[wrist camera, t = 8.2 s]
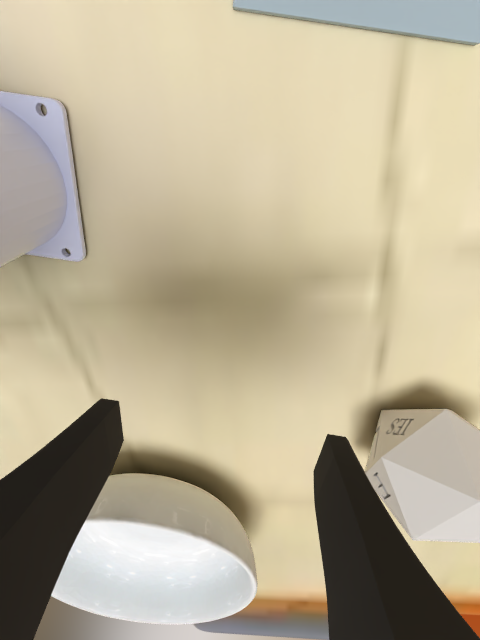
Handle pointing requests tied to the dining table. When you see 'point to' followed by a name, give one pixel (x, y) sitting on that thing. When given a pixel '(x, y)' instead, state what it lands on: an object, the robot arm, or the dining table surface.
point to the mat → (383, 15)
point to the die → (428, 473)
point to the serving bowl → (158, 555)
